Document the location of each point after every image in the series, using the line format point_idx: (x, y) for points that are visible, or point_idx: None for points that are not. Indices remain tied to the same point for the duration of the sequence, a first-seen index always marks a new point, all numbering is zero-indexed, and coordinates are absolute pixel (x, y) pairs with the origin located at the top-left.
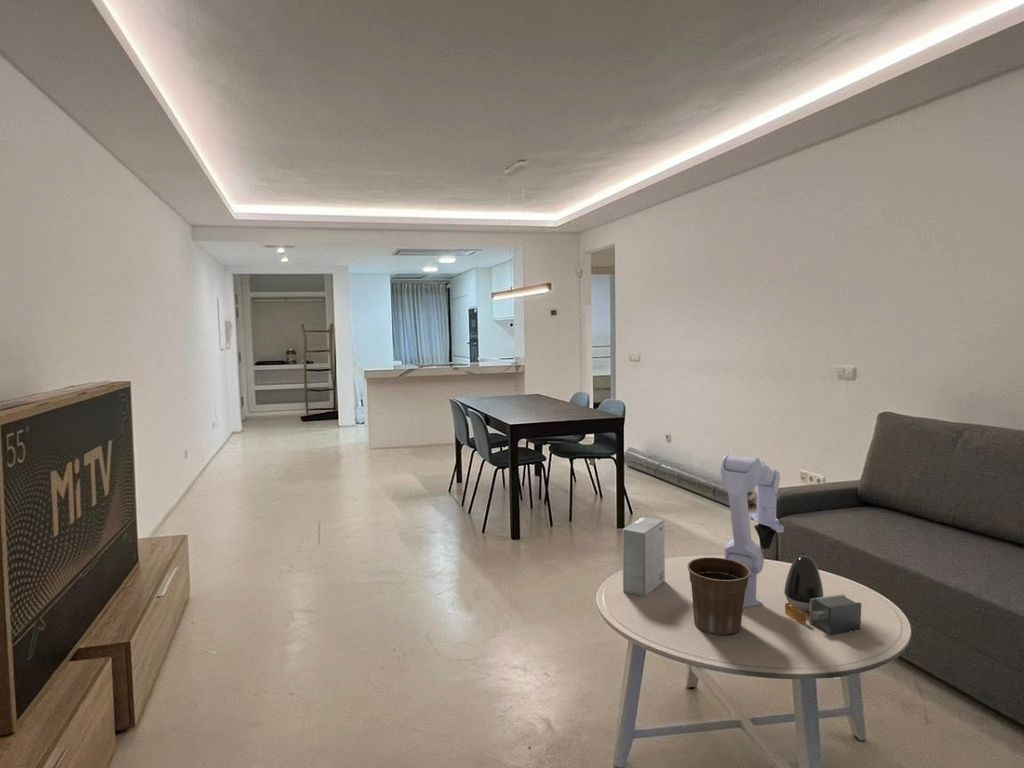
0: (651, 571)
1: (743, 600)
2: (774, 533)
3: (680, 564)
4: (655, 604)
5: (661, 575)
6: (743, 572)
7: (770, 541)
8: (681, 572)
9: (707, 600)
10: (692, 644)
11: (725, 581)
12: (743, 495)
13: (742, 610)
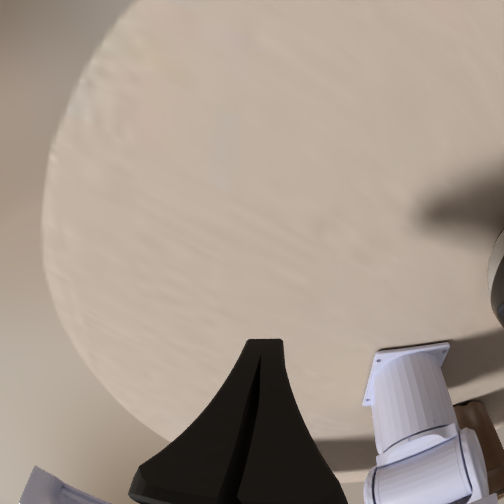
0: None
1: (502, 447)
2: (321, 460)
3: (130, 382)
4: (337, 461)
5: None
6: (496, 485)
7: (285, 387)
8: (185, 403)
9: None
10: None
11: (500, 498)
12: None
13: (495, 430)
